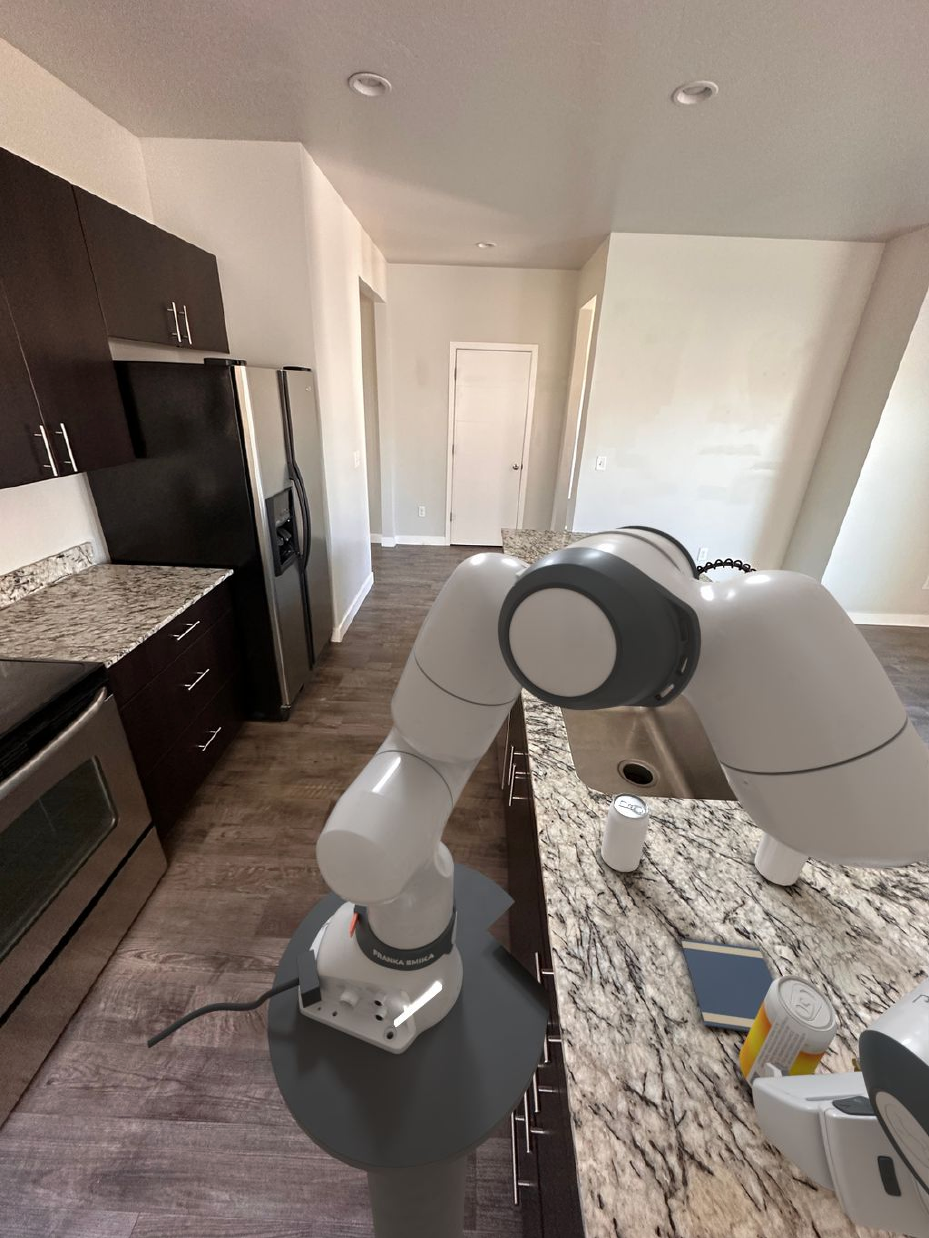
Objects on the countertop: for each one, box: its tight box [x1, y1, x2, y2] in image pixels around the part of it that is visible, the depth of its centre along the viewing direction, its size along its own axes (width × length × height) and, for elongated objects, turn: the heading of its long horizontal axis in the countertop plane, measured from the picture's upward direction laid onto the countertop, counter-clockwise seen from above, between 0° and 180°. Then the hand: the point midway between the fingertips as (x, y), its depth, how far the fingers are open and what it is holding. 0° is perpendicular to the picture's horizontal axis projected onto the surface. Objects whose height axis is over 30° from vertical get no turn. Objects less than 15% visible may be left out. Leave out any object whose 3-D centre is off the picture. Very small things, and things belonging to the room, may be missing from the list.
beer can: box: [738, 974, 838, 1089], centre depth 54 cm, size 6×6×15 cm
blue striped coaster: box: [680, 938, 774, 1034], centre depth 66 cm, size 11×11×1 cm
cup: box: [753, 831, 810, 886], centre depth 80 cm, size 8×8×14 cm
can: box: [600, 792, 651, 873], centre depth 82 cm, size 6×6×12 cm
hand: (816, 1069), depth 50 cm, fingers open, 8 cm apart
